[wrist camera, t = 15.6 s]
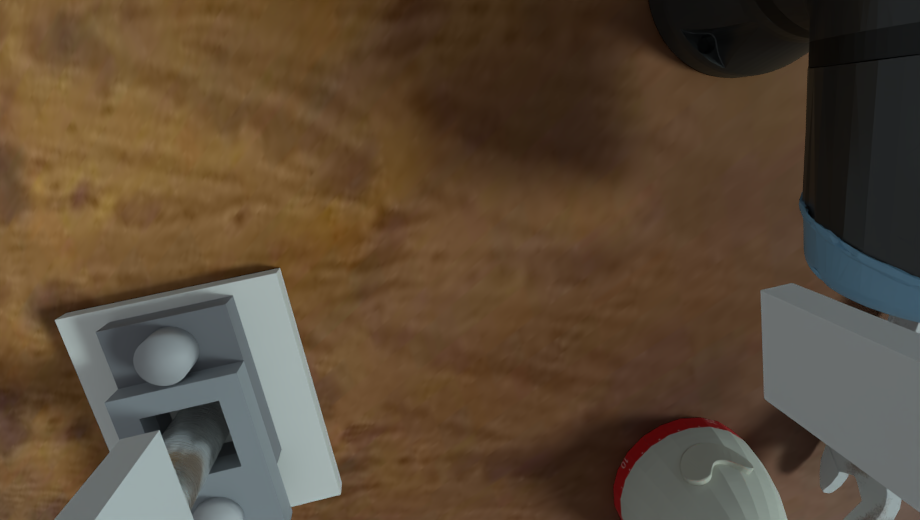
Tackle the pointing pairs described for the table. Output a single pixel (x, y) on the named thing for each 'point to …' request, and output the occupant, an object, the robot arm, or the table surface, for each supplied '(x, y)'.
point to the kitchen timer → (694, 476)
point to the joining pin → (195, 445)
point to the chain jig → (213, 387)
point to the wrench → (862, 473)
